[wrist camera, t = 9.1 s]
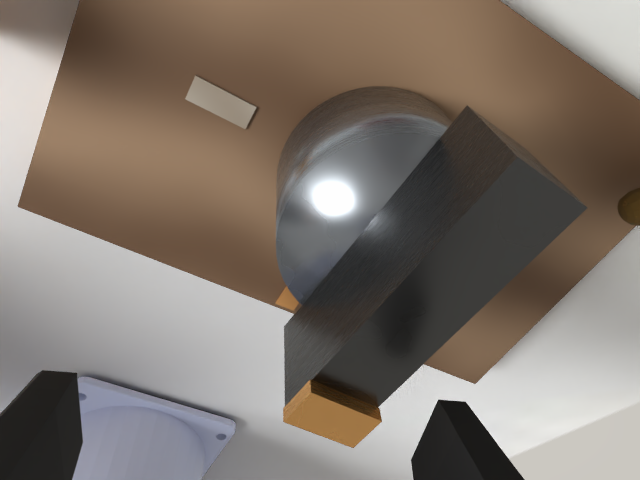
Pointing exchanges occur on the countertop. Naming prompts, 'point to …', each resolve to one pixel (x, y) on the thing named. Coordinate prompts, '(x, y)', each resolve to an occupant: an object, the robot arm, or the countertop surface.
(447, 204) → the twist cap
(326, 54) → the base plate
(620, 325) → the countertop surface
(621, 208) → the beige long cylinder
